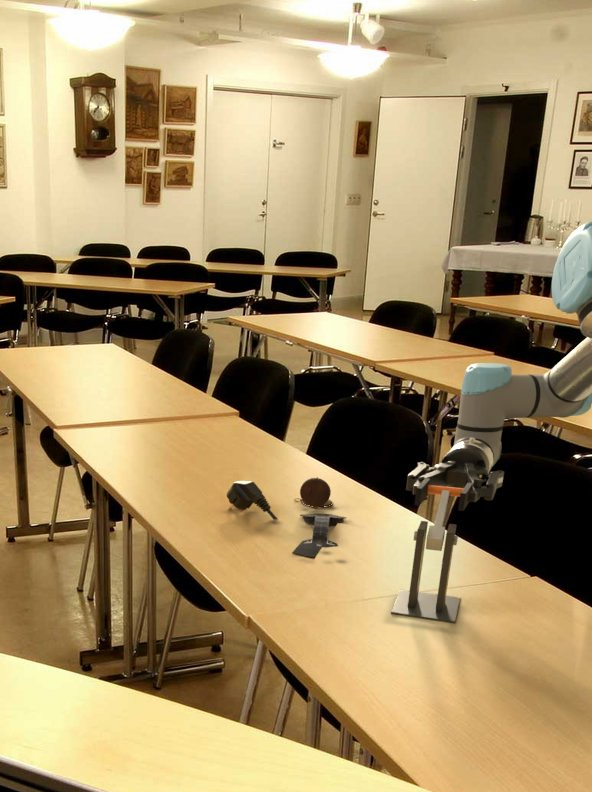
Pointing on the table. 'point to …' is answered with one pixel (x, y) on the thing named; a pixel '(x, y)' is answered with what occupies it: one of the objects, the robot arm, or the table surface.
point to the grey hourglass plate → (318, 534)
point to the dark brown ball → (315, 493)
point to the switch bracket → (428, 603)
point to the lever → (439, 516)
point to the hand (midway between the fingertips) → (439, 499)
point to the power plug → (247, 497)
